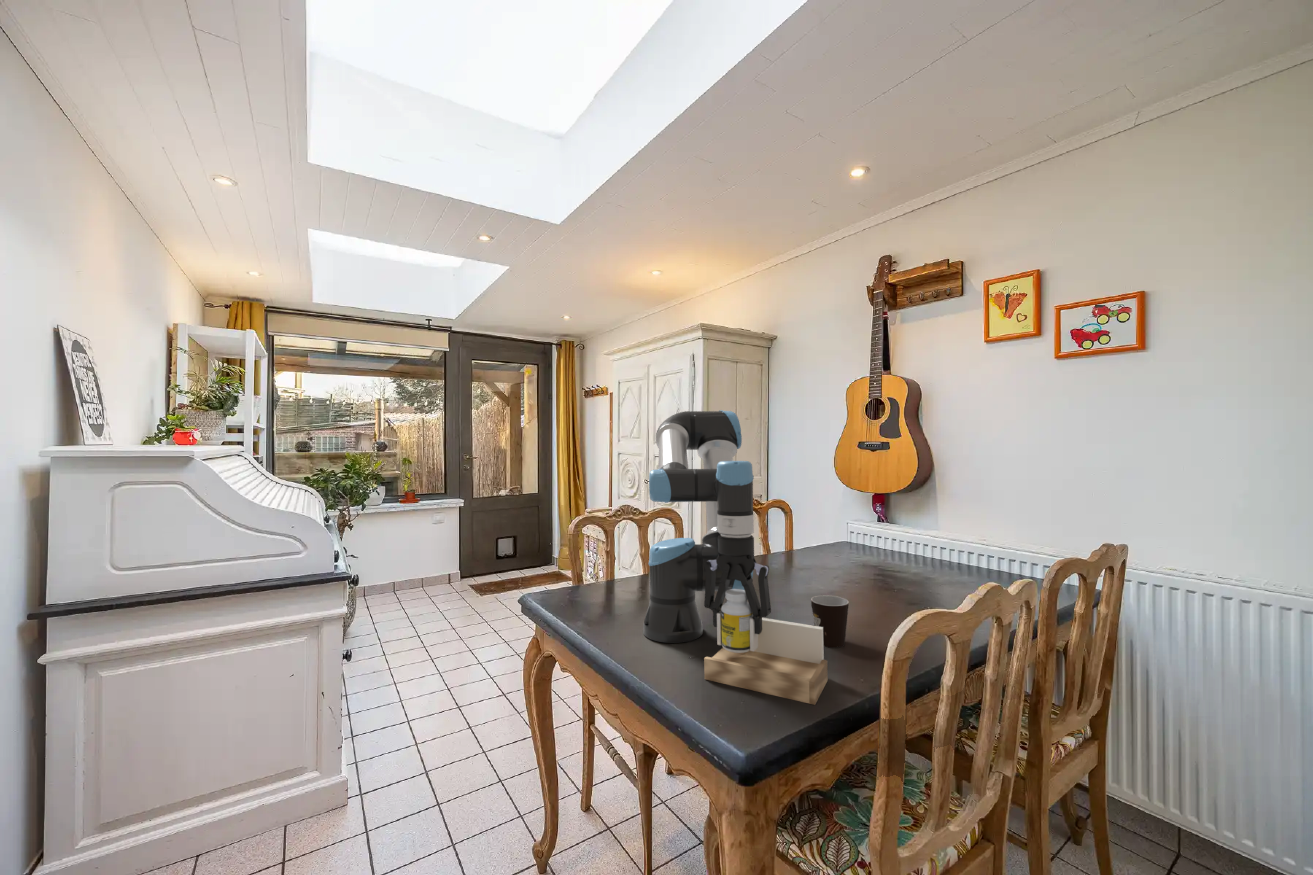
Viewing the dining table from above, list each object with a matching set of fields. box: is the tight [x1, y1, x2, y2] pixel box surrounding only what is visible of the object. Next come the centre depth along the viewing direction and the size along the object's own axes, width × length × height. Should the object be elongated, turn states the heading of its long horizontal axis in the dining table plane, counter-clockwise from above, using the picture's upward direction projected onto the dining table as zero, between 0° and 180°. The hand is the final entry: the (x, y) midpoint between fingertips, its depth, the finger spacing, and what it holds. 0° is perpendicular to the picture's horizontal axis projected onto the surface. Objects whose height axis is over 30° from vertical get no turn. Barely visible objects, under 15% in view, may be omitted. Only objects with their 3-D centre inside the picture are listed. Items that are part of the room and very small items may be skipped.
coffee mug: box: [810, 594, 850, 649], centre depth 124 cm, size 12×9×10 cm
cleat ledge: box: [703, 647, 829, 706], centre depth 104 cm, size 22×11×4 cm, turn 60°
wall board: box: [755, 617, 825, 664], centre depth 109 cm, size 21×2×10 cm, turn 60°
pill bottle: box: [721, 589, 753, 653], centre depth 107 cm, size 6×6×12 cm
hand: (737, 645), depth 107 cm, fingers closed on pill bottle, 6 cm apart
